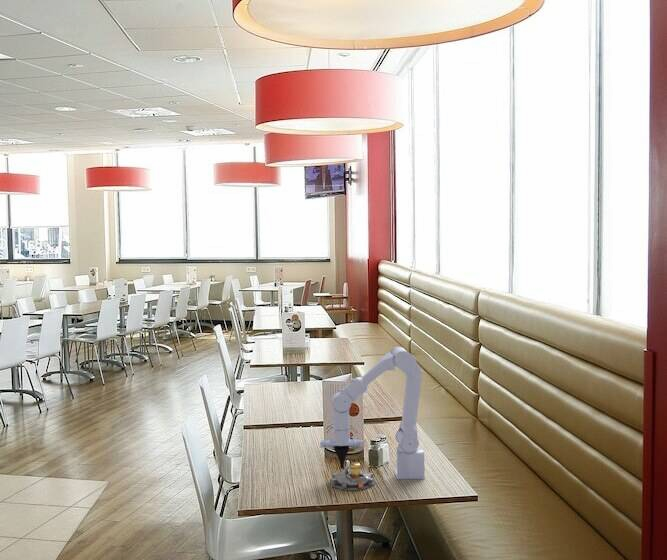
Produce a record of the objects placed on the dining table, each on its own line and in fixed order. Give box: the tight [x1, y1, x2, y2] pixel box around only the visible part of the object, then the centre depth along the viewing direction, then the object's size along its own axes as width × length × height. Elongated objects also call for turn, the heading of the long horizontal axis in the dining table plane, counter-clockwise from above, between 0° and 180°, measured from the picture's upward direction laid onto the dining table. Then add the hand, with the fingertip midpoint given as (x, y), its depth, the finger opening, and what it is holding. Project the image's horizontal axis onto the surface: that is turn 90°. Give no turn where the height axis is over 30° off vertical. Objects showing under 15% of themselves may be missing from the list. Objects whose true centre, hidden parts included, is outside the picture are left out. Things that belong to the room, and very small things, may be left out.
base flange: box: [329, 478, 376, 492], centre depth 243 cm, size 15×15×1 cm
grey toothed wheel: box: [331, 459, 375, 488], centre depth 243 cm, size 14×14×6 cm
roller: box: [350, 461, 361, 479], centre depth 240 cm, size 3×3×5 cm
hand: (341, 467), depth 247 cm, fingers closed, pressing on grey toothed wheel
